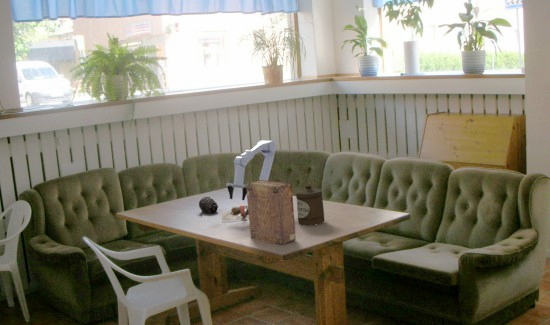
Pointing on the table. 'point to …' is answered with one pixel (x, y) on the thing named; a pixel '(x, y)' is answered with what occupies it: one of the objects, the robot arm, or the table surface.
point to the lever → (243, 210)
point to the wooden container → (310, 206)
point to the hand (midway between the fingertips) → (237, 199)
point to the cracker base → (234, 216)
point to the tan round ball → (234, 210)
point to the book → (271, 211)
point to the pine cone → (208, 205)
